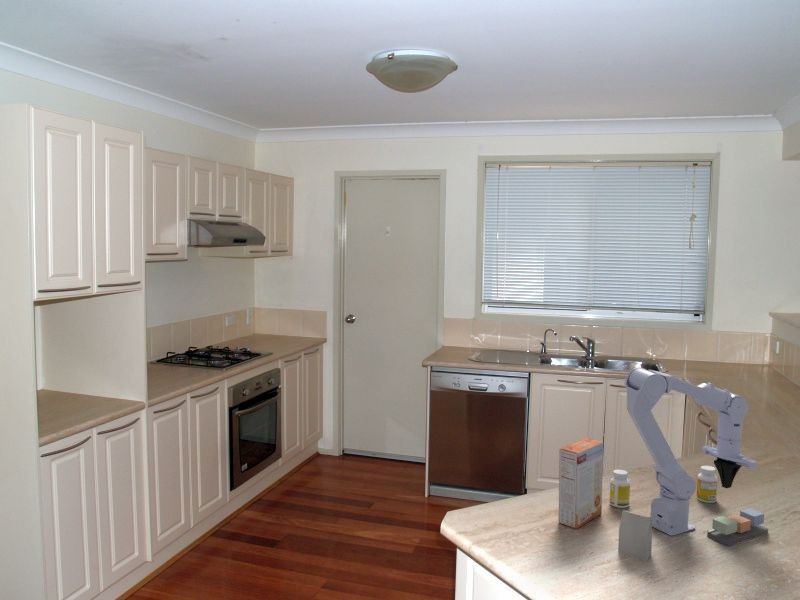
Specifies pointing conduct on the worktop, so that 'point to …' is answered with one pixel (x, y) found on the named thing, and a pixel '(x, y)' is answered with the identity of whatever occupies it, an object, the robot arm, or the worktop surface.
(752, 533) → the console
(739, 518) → the terracotta key
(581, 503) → the cracker box
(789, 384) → the worktop surface
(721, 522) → the sage key
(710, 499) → the supplement bottle
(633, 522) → the grey rectangular block
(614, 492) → the supplement bottle
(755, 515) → the light blue square block
